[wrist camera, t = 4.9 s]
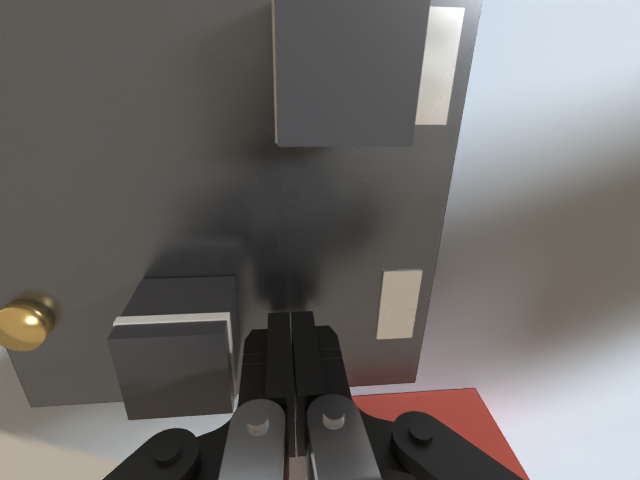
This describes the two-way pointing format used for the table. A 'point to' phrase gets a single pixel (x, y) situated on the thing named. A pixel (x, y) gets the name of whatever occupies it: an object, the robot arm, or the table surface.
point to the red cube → (449, 418)
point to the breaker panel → (204, 186)
